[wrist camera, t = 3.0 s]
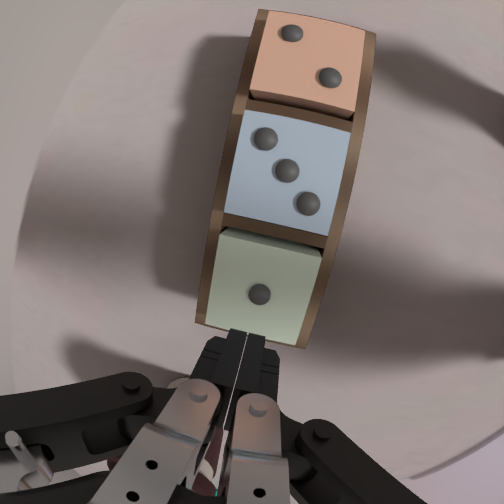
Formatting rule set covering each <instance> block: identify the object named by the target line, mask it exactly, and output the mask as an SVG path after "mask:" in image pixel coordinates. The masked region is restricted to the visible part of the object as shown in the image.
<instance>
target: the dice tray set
mask: <svg viewBox="0 0 504 504" xmlns="http://www.w3.org/2000/svg"><path fill="white" fill-rule="evenodd" d="M269 11H273V10H264V9H258V12H257V16H256V19H255V23H254V27H253V30H252V34H251V37H250V41H249V45H248V49H247V52H246V56H245V60H244V64H243V68H242V72H241V76H240V80H239V84H238V88H237V93H236V97H235V101H234V105H233V110H232V114H231V119H230V123H229V128H228V132H227V137H226V142H225V146H224V151H223V156H222V161H221V166H220V171H219V176H218V181H217V186H216V192H215V197H214V202H213V208H212V214H211V219H210V225H209V231H208V237H207V243H206V249H205V255H204V261H203V268H202V274H201V281H200V288H199V295H198V302H197V309H196V317H195V323H197V324H201V325H204V326H208V327H212V328H216V329H219V330H223V331H227V332H229V330H226V329H223V328H219V327H215V326H211V325H208V324H205V320H206V314H207V307H208V301H209V294H210V288H211V282H212V276H213V270H214V264H215V258H216V252H217V247H218V241H219V235H220V234H221V233H222V232H223V231H225V230H226V229H227V228H228V227H233V228H237V229H242V230H246V231H251V232H255V233H260V234H264V235H268V236H273V237H277V238H281V239H286V240H290V241H294V242H299V243H303V244H307V245H311V246H315V247H317V248H318V250H319V252H320V255H321V257H322V260H321V263H320V267H319V270H318V274H317V277H316V281H315V284H314V288H313V291H312V294H311V298H310V301H309V304H308V307H307V311H306V314H305V317H304V320H303V323H302V326H301V329H300V332H299V335H298V338H297V341H296V344H295V345H291V344H286V343H282V342H277V341H272V340H268V339H265V341H269V342H273V343H278V344H283V345H287V346H292V347H297V348H302V349H305V348H306V345H307V342H308V339H309V336H310V334H311V331H312V328H313V325H314V322H315V319H316V316H317V313H318V310H319V307H320V304H321V301H322V298H323V294H324V291H325V288H326V285H327V281H328V278H329V275H330V271H331V268H332V265H333V261H334V258H335V254H336V250H337V247H338V243H339V239H340V236H341V232H342V228H343V224H344V220H345V216H346V212H347V208H348V204H349V200H350V195H351V191H352V187H353V182H354V178H355V173H356V168H357V163H358V158H359V153H360V148H361V143H362V138H363V132H364V126H365V120H366V114H367V108H368V101H369V95H370V87H371V80H372V72H373V63H374V54H375V43H376V34H375V33H372V32H369V31H366V30H364V31H365V39H364V48H363V57H362V65H361V72H360V80H359V86H358V93H357V99H356V106H355V112H354V113H353V114H352V115H351V116H350V117H349V118H348V119H347V120H343V119H339V118H336V117H332V116H328V115H324V114H320V113H316V112H312V111H308V110H303V109H299V108H294V107H289V106H284V105H279V104H273V103H268V102H262V101H255V100H254V98H253V96H252V93H251V91H250V85H251V80H252V76H253V72H254V68H255V64H256V60H257V56H258V52H259V48H260V44H261V40H262V36H263V32H264V28H265V25H266V21H267V17H268V13H269ZM277 12H281V11H277ZM284 13H288V12H284ZM291 14H295V13H291ZM297 15H300V14H297ZM303 16H306V15H303ZM308 17H311V16H308ZM314 18H316V17H314ZM318 19H321V18H318ZM323 20H326V19H323ZM327 21H330V20H327ZM332 22H334V21H332ZM336 23H338V22H336ZM340 24H342V23H340ZM344 25H346V24H344ZM347 26H349V25H347ZM351 27H353V26H351ZM354 28H356V27H354ZM358 29H360V28H358ZM361 30H363V29H361ZM245 110H250V111H256V112H262V113H268V114H273V115H279V116H284V117H289V118H293V119H298V120H303V121H307V122H311V123H315V124H319V125H323V126H327V127H331V128H335V129H339V130H342V131H346V132H349V133H351V134H350V140H349V145H348V150H347V155H346V160H345V165H344V170H343V174H342V179H341V183H340V188H339V192H338V197H337V201H336V205H335V209H334V213H333V217H332V221H331V225H330V229H329V233H328V236H325V235H321V234H317V233H313V232H309V231H305V230H301V229H296V228H292V227H288V226H283V225H279V224H275V223H270V222H266V221H261V220H257V219H252V218H248V217H243V216H239V215H234V214H229V213H225V212H224V208H225V203H226V198H227V192H228V187H229V182H230V177H231V172H232V167H233V162H234V157H235V153H236V148H237V143H238V138H239V134H240V129H241V125H242V120H243V116H244V111H245ZM247 337H248V335H247Z"/></svg>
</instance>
